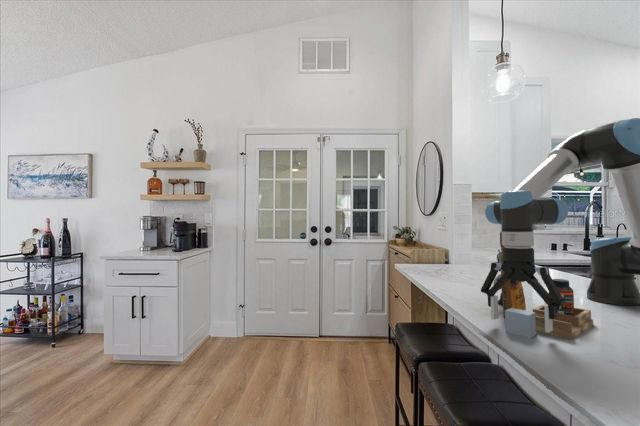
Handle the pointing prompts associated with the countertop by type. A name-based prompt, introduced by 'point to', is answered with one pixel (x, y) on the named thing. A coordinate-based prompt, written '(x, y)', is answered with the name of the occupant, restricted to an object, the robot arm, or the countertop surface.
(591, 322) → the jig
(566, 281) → the supplement bottle
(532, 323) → the wing block
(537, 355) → the countertop surface
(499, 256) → the robot
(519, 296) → the pancake mix bag
